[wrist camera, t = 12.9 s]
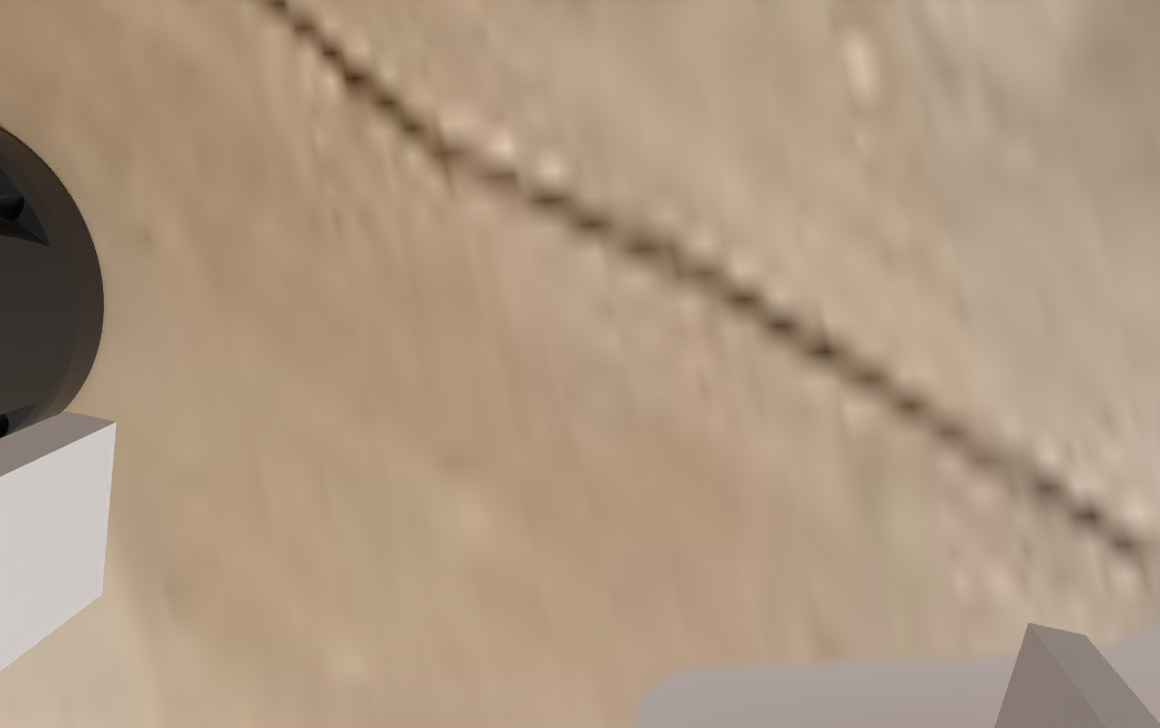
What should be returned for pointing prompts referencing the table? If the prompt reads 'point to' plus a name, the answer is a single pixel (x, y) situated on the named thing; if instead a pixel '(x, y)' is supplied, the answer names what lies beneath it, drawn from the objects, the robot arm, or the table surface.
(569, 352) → the table surface
